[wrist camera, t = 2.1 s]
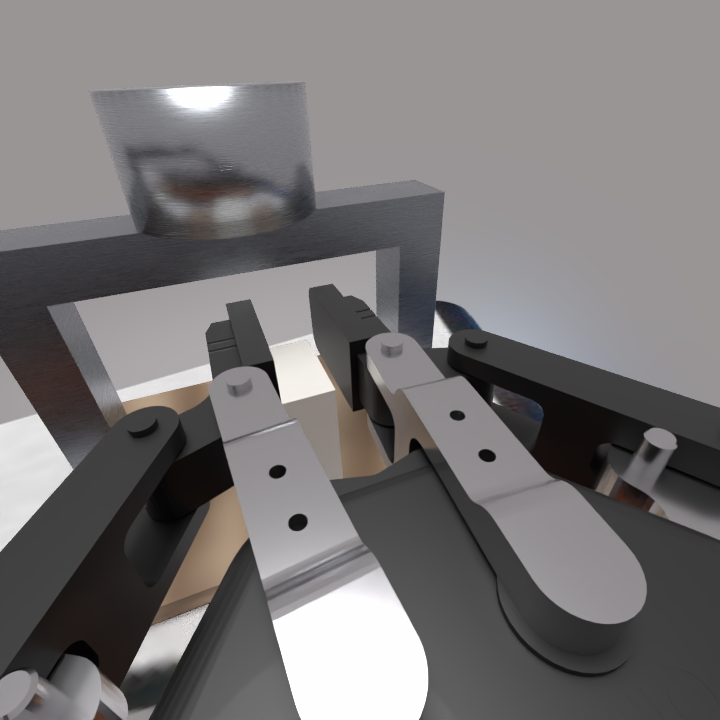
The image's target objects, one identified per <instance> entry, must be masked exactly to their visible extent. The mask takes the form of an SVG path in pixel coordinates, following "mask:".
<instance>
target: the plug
mask: <svg viewBox="0 0 720 720" xmlns="http://www.w3.org/2000/svg"><path fill="white" fill-rule="evenodd" d="M269 349H270V352H271V354H272V357H273V359H274V364H275V370H276V375H277V380H278V386H279V391H280V397H281V402H282V404H283V406H284V408H285V410H286V412H287V414H288V416H289V418H290V419H292V418H296V419H297V420H298V422H299V423H300V425H301V427H302V429H303V431H304V433H305V435H306V437H307V438H308V440H309V442H310V444H311V446H312V448H313V450H314V452H315V454H316V456H317V457H318V459H319V461H320V463H321V465H322V467H323V469H324V471H325V473H326V475H327V477H328V478H329V480H334V479H343V474H342V462H341V450H340V438H339V426H338V414H337V402H336V390H335V388H334V386H333V385H332V383H331V381H330V379H329V377H328V375H327V374H326V372H325V370H324V368H323V366H322V364H321V363H320V361H319V359H318V357H317V355H316V354H315V352H314V350H313V348H312V346H311V344H310V343H309V341H308V340H304V341H299V342H295V343H290V344H286V345H281V346H277V347H273V348H269Z"/></svg>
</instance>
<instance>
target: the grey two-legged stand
mask: <svg viewBox="0 0 720 720" xmlns="http://www.w3.org/2000/svg"><path fill="white" fill-rule="evenodd" d="M89 94H90V96H91V99H92V102H93V105H94V108H95V111H96V114H97V117H98V119H99V123H100V125H101V129H102V132H103V134H104V137H105V140H106V143H107V146H108V149H109V152H110V155H111V158H112V161H113V164H114V166H115V169H116V172H117V175H118V178H119V181H120V184H121V187H122V190H123V193H124V196H125V199H126V202H127V204H128V208H129V210H130V213H131V215H124V216H116V217H108V218H101V219H91V220H83V221H75V222H66V223H59V224H50V225H42V226H34V227H26V228H17V229H10V230H1V231H0V356H1V357H2V359H3V361H4V362H5V364H6V365H7V366H8V368H9V370H10V371H11V373H12V375H13V376H14V378H15V379H16V381H17V382H18V384H19V385H20V387H21V388H22V390H23V391H24V393H25V395H26V396H27V398H28V399H29V401H30V403H31V404H32V405H33V407H34V409H35V410H36V412H37V413H38V415H39V417H40V418H41V420H42V421H43V423H44V424H45V426H46V427H47V429H48V430H49V432H50V434H51V435H52V437H53V438H54V440H55V441H56V443H57V444H58V446H59V448H60V449H61V451H62V452H63V454H64V455H65V457H66V458H67V460H68V462H69V463H70V465H71V466H72V468H73V469H75V468H76V467H77V466H78V465H79V463H80V462H81V461H82V460H83V459H84V458H85V457H86V456H87V454H88V453H89V452H90V451H91V450H92V449H93V448H94V447H95V445H96V444H97V443H98V442H99V441H100V440H101V439H102V438H103V436H104V435H105V434H106V433H107V432H108V431H109V430H110V429H111V428H112V426H113V425H114V424H115V423H116V422H117V421H119V420H120V419H121V418H123V417H124V416H126V415H127V413H126V411H125V409H124V407H123V405H122V403H121V401H120V399H119V397H118V394H117V392H116V390H115V388H114V386H113V384H112V382H111V380H110V378H109V376H108V374H107V372H106V369H105V367H104V365H103V363H102V361H101V359H100V357H99V355H98V353H97V350H96V348H95V346H94V344H93V342H92V340H91V338H90V336H89V334H88V332H87V330H86V327H85V325H84V323H83V321H82V319H81V317H80V315H79V313H78V311H77V309H76V306H75V304H74V303H73V302H76V301H82V300H88V299H94V298H99V297H105V296H111V295H117V294H122V293H129V292H135V291H141V290H146V289H152V288H158V287H164V286H170V285H175V284H182V283H187V282H193V281H199V280H205V279H211V278H216V277H222V276H228V275H234V274H240V273H246V272H252V271H258V270H264V269H269V268H274V267H281V266H287V265H293V264H298V263H304V262H309V261H316V260H322V259H328V258H334V257H340V256H345V255H351V254H357V253H362V252H369V251H375V250H376V298H377V301H376V302H377V317H378V318H379V319H380V320H381V321H382V322H383V324H384V325H385V326H386V327H387V328H388V329H389V330H390V331H391V333H401V334H405V335H408V336H410V337H412V338H413V339H414V340H415V341H416V342H417V343H418V344H419V345H420V347H421V348H432V339H433V327H434V314H435V302H436V290H437V278H438V265H439V254H440V241H441V229H442V217H443V205H444V192H443V191H441V190H438V189H436V188H433V187H431V186H428V185H425V184H423V183H421V182H418V181H416V180H411V181H403V182H395V183H386V184H378V185H370V186H363V187H353V188H345V189H337V190H329V191H321V192H315V188H314V177H313V165H312V154H311V142H310V132H309V120H308V109H307V98H306V87H305V82H264V83H233V84H208V85H185V86H162V87H143V88H123V89H106V90H92V91H89Z"/></svg>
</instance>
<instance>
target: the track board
mask: <svg viewBox="0 0 720 720" xmlns="http://www.w3.org/2000/svg"><path fill="white" fill-rule="evenodd" d="M317 357H318V359H319V361H320V363H321V364H322V366H323V368H324V370H325V372H326V374H327V375H328V377H329V379H330V381H331V383H332V385H333V386H334V388H335V390H336V402H337V414H338V426H339V438H340V450H341V462H342V474H343V478H352V477H361V476H370V475H375V474H377V473H379V472H381V471H383V470H384V469H386V466H385V463H384V461H383V459H382V457H381V455H380V452H379V450H378V448H377V446H376V444H375V442H374V439H373V437H372V435H371V433H370V431H369V428H368V420H367V412H366V410H365V409H362V410H358V411H355V412H353V411H352V409H351V408H350V406H349V404H348V402H347V401H346V399H345V397H344V395H343V393H342V392H341V390H340V388H339V386H338V385H337V383H336V381H335V379H334V378H333V376H332V374H331V372H330V370H329V369H328V367H327V365H326V363H325V362H324V360H323V358H322V356H321V355H319V356H317ZM211 382H212V381H210V382H206V383H201V384H197V385H193V386H189V387H185V388H180V389H176V390H172V391H168V392H164V393H160V394H155V395H151V396H147V397H143V398H139V399H134V400H130V401H126V402H122V405H123V407H124V409H125V411H126V413H127V414H129V413H131V412H133V411H136V410H138V409H142V408H145V407H150V406H166V407H169V408H172V409H173V410H175V411H176V412H177V414H178V415H179V414H181V413H183V412H185V411H187V410H189V409H191V408H193V407H195V406H197V405H198V404H200V403H201V402H202V401H204V400H205V399H206V398H207V397H208V396H209V385H210V383H211ZM248 538H249V534H248V531H247V527H246V524H245V520H244V517H243V513H242V510H241V506H240V503H239V499H238V496H237V492H236V489H235V486H233V487H231V488H230V489H228V490H227V491H225V492H223V493H222V494H220V495H218V496H217V497H215V498H213V499H212V500H210V508H209V511H208V513H207V515H206V517H205V519H204V521H203V523H202V525H201V527H200V529H199V531H198V533H197V535H196V537H195V539H194V541H193V543H192V545H191V547H190V549H189V551H188V553H187V555H186V557H185V559H184V561H183V563H182V565H181V567H180V569H179V571H178V573H177V575H176V577H175V578H174V580H173V582H172V584H171V586H170V588H169V590H168V592H167V594H166V596H165V598H164V600H163V602H162V604H161V606H160V608H159V610H158V612H157V614H156V616H155V618H154V620H153V622H152V624H151V625H153V624H156V623H159V622H161V621H164V620H166V619H169V618H172V617H174V616H177V615H179V614H182V613H185V612H187V611H190V610H192V609H195V608H197V607H200V606H203V605H205V604H208V603H210V602H211V600H212V598H213V596H214V594H215V592H216V590H217V588H218V587H219V585H220V583H221V581H222V579H223V577H224V575H225V573H226V571H227V569H228V567H229V566H230V564H231V562H232V560H233V558H234V557H235V555H236V554H237V552H238V551H239V549H240V548H241V546H242V545H243V544H244V543H245V541H246V540H247V539H248Z"/></svg>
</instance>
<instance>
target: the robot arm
mask: <svg viewBox="0 0 720 720" xmlns="http://www.w3.org/2000/svg"><path fill="white" fill-rule="evenodd" d="M309 299H310V300H309V301H310V309H311V318H312V327H313V335H314V340H315V343H316V346H317V349H318V351H319V353H320V355H321V356H322V358H323V360H324V362H325V363H326V365H327V367H328V369H329V370H330V372H331V374H332V376H333V378H334V379H335V381H336V383H337V385H338V386H339V388H340V390H341V392H342V393H343V395H344V397H345V399H346V401H347V402H348V404H349V406H350V408H351V409H352V411H353V412H355V411H358V410H362V409H365V410H366V412H367V420H368V428H369V431H370V433H371V435H372V437H373V439H374V442H375V444H376V446H377V448H378V450H379V452H380V455H381V457H382V459H383V461H384V463H385V466H386V469H384V470H383V471H381V472H379V473H377V474H375V475H370V476H361V477H352V478H343V479H334V480H329V478H328V477H327V475H326V473H325V471H324V469H323V467H322V465H321V463H320V461H319V459H318V457H317V456H316V454H315V452H314V450H313V448H312V446H311V444H310V442H309V440H308V438H307V437H306V435H305V433H304V431H303V429H302V427H301V425H300V423H299V422H298V420H297V419H296V418H292V419H290V418H289V416H288V414H287V412H286V410H285V408H284V406H283V404H282V402H281V397H280V391H279V386H278V380H277V375H276V370H275V364H274V359H273V357H272V354H271V352H270V349H269V346H268V344H267V341H266V339H265V336H264V334H263V331H262V329H261V326H260V323H259V321H258V318H257V316H256V313H255V310H254V308H253V305H252V302H251V300H250V299H249V300H245V301H239V302H234V303H228V304H226V307H227V311H228V315H229V319H230V320H226V321H221V322H216V323H212V324H211V325H210V327H209V329H208V330H207V332H206V340H207V346H208V352H209V358H210V365H211V372H212V378H213V380H212V382H211V383H210V385H209V396H208V397H207V398H206V399H205V400H204V401H202V402H201V403H200V404H198V405H197V406H195V407H193V408H191V409H189V410H187V411H185V412H183V413H181V414H179V415H178V414H177V412H176V411H175V410H173V409H172V408H169V407H166V406H150V407H145V408H142V409H138V410H136V411H133V412H131V413H129V414H127V415H126V416H124V417H123V418H121V419H120V420H119V421H117V422H116V423H115V424H114V425H113V426H112V428H111V429H110V430H109V431H108V432H107V433H106V434H105V435H104V436H103V438H102V439H101V440H100V441H99V442H98V443H97V444H96V445H95V447H94V448H93V449H92V450H91V451H90V452H89V453H88V454H87V456H86V457H85V458H84V459H83V460H82V461H81V462H80V463H79V465H78V466H77V467H76V468H75V469H74V470H73V471H72V472H71V473H70V475H69V476H68V477H67V478H66V479H65V480H64V481H63V482H62V484H61V485H60V486H59V487H58V488H57V489H56V490H55V491H54V493H53V494H52V495H51V496H50V497H49V498H48V499H47V500H46V502H45V503H44V504H43V505H42V506H41V507H40V508H39V509H38V510H37V512H36V513H35V514H34V515H33V516H32V517H31V518H30V519H29V521H28V522H27V523H26V524H25V525H24V526H23V527H22V528H21V530H20V531H19V532H18V533H17V534H16V535H15V536H14V537H13V538H12V540H11V541H10V542H9V543H8V544H7V545H6V546H5V547H4V549H3V550H2V551H1V552H0V720H128V706H127V702H126V699H125V697H124V695H123V693H122V692H121V691H120V690H119V688H120V686H121V684H122V682H123V680H124V678H125V676H126V674H127V672H128V670H129V668H130V666H131V664H132V662H133V660H134V658H135V656H136V654H137V652H138V650H139V648H140V646H141V644H142V642H143V640H144V638H145V636H146V634H147V632H148V630H149V628H150V626H151V624H152V622H153V620H154V618H155V616H156V614H157V612H158V610H159V608H160V606H161V604H162V602H163V600H164V598H165V596H166V594H167V592H168V590H169V588H170V586H171V584H172V582H173V580H174V578H175V577H176V575H177V573H178V571H179V569H180V567H181V565H182V563H183V561H184V559H185V557H186V555H187V553H188V551H189V549H190V547H191V545H192V543H193V541H194V539H195V537H196V535H197V533H198V531H199V529H200V527H201V525H202V523H203V521H204V519H205V517H206V515H207V513H208V511H209V508H210V500H212V499H213V498H215V497H217V496H218V495H220V494H222V493H223V492H225V491H227V490H228V489H230V488H231V487H233V486H235V489H236V492H237V496H238V499H239V503H240V506H241V510H242V513H243V517H244V520H245V524H246V527H247V531H248V534H249V538H248V539H247V540H246V541H245V543H244V544H243V545H242V546H241V548H240V549H239V551H238V552H237V554H236V555H235V557H234V558H233V560H232V562H231V564H230V566H229V567H228V569H227V571H226V573H225V575H224V577H223V579H222V581H221V583H220V585H219V587H218V588H217V590H216V592H215V594H214V596H213V598H212V600H211V602H210V604H209V606H208V608H207V609H206V611H205V613H204V615H203V617H202V619H201V621H200V623H199V625H198V627H197V629H196V630H195V632H194V634H193V636H192V638H191V640H190V642H189V644H188V646H187V648H186V650H185V651H184V653H183V655H182V657H181V659H180V661H179V663H178V665H177V667H176V669H175V671H174V672H173V674H172V676H171V678H170V680H169V682H168V684H167V686H166V688H165V690H164V692H163V693H162V695H161V697H160V699H159V701H158V703H157V705H156V707H155V709H154V711H153V713H152V715H151V716H150V718H149V720H720V408H719V407H716V406H712V405H709V404H706V403H703V402H700V401H697V400H694V399H691V398H688V397H685V396H682V395H679V394H676V393H672V392H670V391H667V390H663V389H660V388H657V387H654V386H651V385H648V384H645V383H642V382H639V381H636V380H633V379H630V378H627V377H623V376H621V375H618V374H614V373H611V372H608V371H605V370H602V369H599V368H596V367H593V366H590V365H587V364H584V363H581V362H578V361H575V360H571V359H568V358H566V357H563V356H559V355H556V354H553V353H550V352H547V351H544V350H541V349H538V348H535V347H532V346H528V345H526V344H522V343H520V342H516V341H514V340H510V339H507V338H504V337H501V336H498V335H495V334H492V333H489V332H486V331H482V330H473V329H469V330H462V331H458V332H456V333H454V334H453V335H451V337H450V338H449V344H448V348H421V347H420V345H419V344H418V343H417V342H416V341H415V340H414V339H413V338H412V337H410V336H408V335H405V334H401V333H391V331H390V330H389V329H388V328H387V327H386V326H385V325H384V324H383V322H382V321H381V320H380V319H379V318H378V317H377V316H376V315H375V314H374V313H373V311H372V310H370V308H369V307H368V306H367V305H366V304H365V302H364V301H362V300H360V299H358V298H356V297H353V296H347V297H343V296H342V295H341V293H340V292H339V291H338V290H337V289H336V287H335V286H334V285H333V284H329V285H324V286H319V287H313V288H310V289H309ZM495 386H499V387H501V388H504V389H506V390H509V391H511V392H514V393H516V394H519V395H521V396H524V397H527V398H529V399H532V400H534V401H535V402H537V403H538V404H539V405H540V406H541V408H542V409H543V412H544V417H543V421H542V422H538V421H536V420H533V419H531V418H529V417H526V416H524V415H521V414H519V413H517V412H514V411H512V410H510V409H507V408H505V407H502V406H500V405H498V404H495V403H493V402H492V401H493V396H494V391H495Z"/></svg>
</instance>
